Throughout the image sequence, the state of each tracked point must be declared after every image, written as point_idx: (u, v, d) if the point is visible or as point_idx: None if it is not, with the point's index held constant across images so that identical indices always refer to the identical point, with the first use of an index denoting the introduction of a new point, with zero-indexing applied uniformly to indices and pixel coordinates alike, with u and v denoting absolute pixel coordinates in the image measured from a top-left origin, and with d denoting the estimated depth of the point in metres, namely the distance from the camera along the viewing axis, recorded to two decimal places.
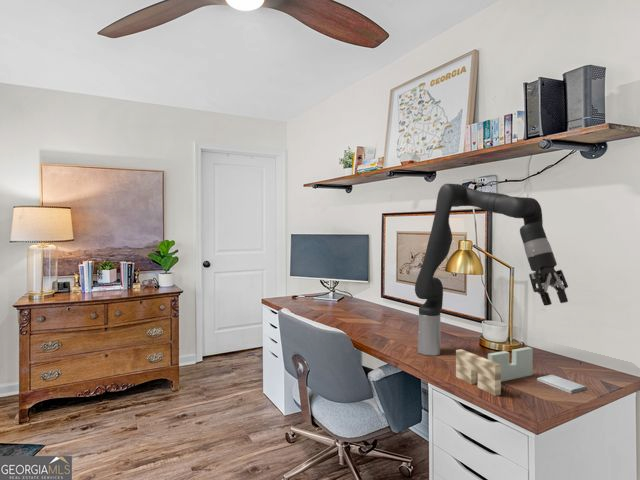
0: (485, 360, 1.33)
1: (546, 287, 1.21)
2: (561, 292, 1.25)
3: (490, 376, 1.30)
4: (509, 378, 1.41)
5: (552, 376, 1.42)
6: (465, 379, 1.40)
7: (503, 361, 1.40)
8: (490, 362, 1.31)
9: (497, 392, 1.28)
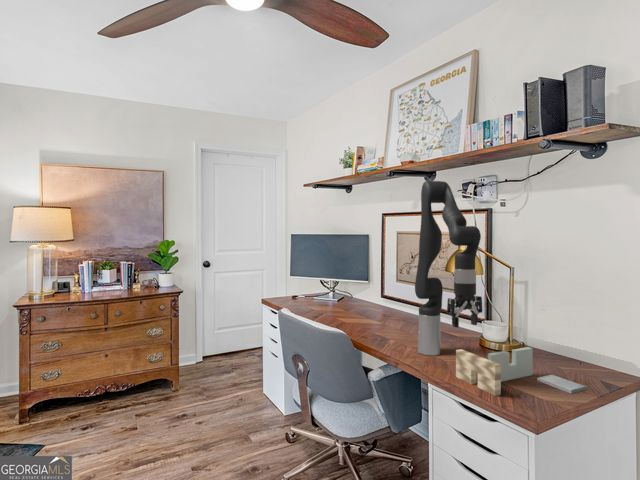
0: (485, 360, 1.33)
1: (458, 313, 1.39)
2: (474, 316, 1.43)
3: (490, 376, 1.30)
4: (509, 378, 1.41)
5: (552, 376, 1.42)
6: (465, 379, 1.40)
7: (503, 361, 1.40)
8: (490, 362, 1.31)
9: (497, 392, 1.28)
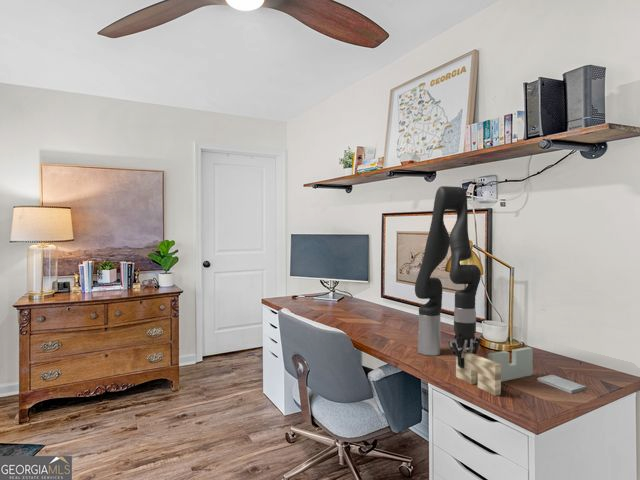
0: (485, 360, 1.33)
1: (463, 353, 1.40)
2: None
3: (490, 376, 1.30)
4: (509, 378, 1.41)
5: (552, 376, 1.42)
6: (465, 379, 1.40)
7: (503, 361, 1.40)
8: (490, 362, 1.31)
9: (497, 392, 1.28)
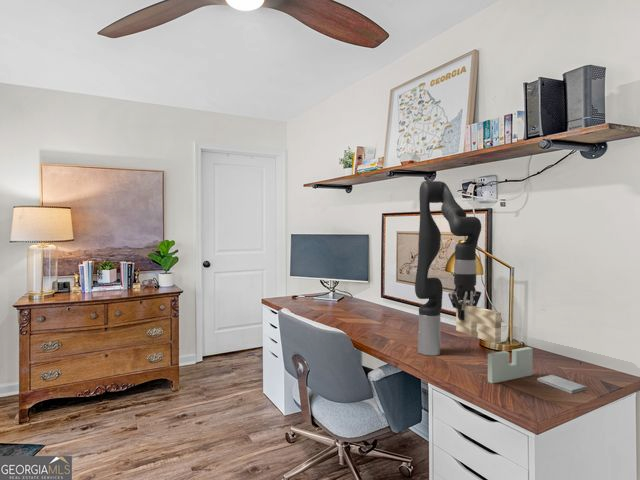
0: (485, 310, 1.32)
1: (463, 305, 1.40)
2: None
3: (490, 324, 1.29)
4: (509, 378, 1.41)
5: (552, 376, 1.42)
6: (465, 331, 1.40)
7: (503, 361, 1.40)
8: (490, 311, 1.30)
9: (497, 340, 1.28)
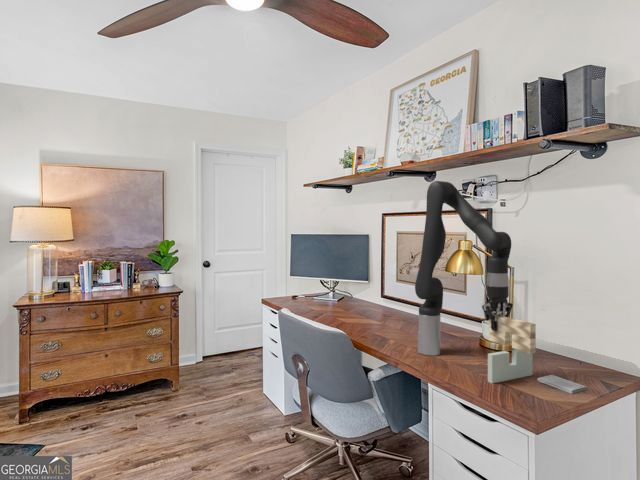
0: (519, 321, 1.39)
1: (496, 316, 1.46)
2: None
3: (525, 335, 1.35)
4: (509, 378, 1.41)
5: (552, 376, 1.42)
6: (499, 341, 1.46)
7: (503, 361, 1.40)
8: (525, 322, 1.37)
9: (532, 350, 1.34)
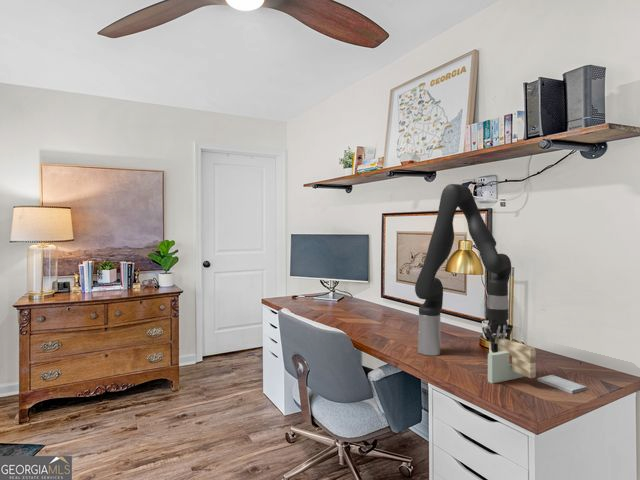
0: (519, 344, 1.39)
1: (496, 339, 1.46)
2: None
3: (525, 359, 1.36)
4: (509, 378, 1.41)
5: (552, 376, 1.42)
6: None
7: (503, 361, 1.40)
8: (525, 346, 1.37)
9: (532, 374, 1.34)
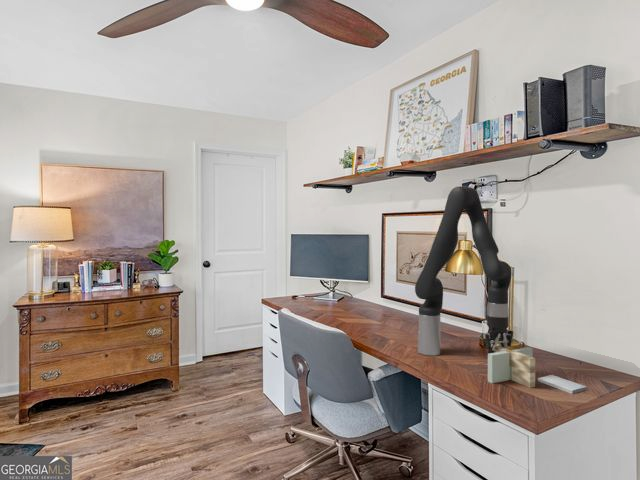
0: (519, 354, 1.39)
1: (494, 346, 1.46)
2: None
3: (525, 369, 1.36)
4: (509, 378, 1.41)
5: (552, 376, 1.42)
6: None
7: (503, 361, 1.40)
8: (524, 356, 1.37)
9: (532, 384, 1.35)
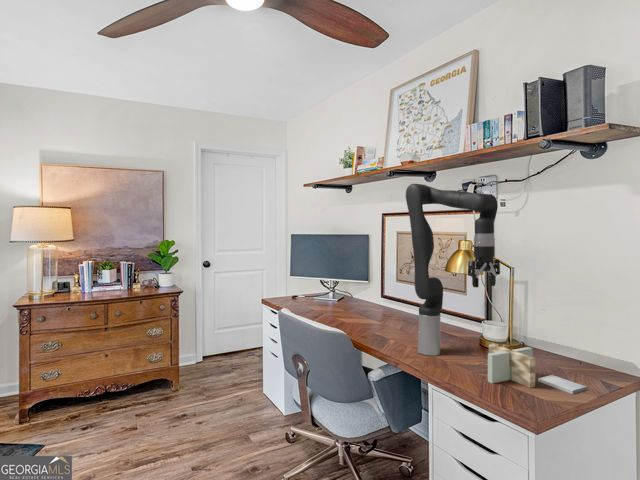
0: (519, 354, 1.39)
1: (478, 274, 1.50)
2: (492, 277, 1.54)
3: (525, 369, 1.36)
4: (509, 378, 1.41)
5: (552, 376, 1.41)
6: None
7: (503, 361, 1.40)
8: (524, 356, 1.37)
9: (532, 384, 1.35)
